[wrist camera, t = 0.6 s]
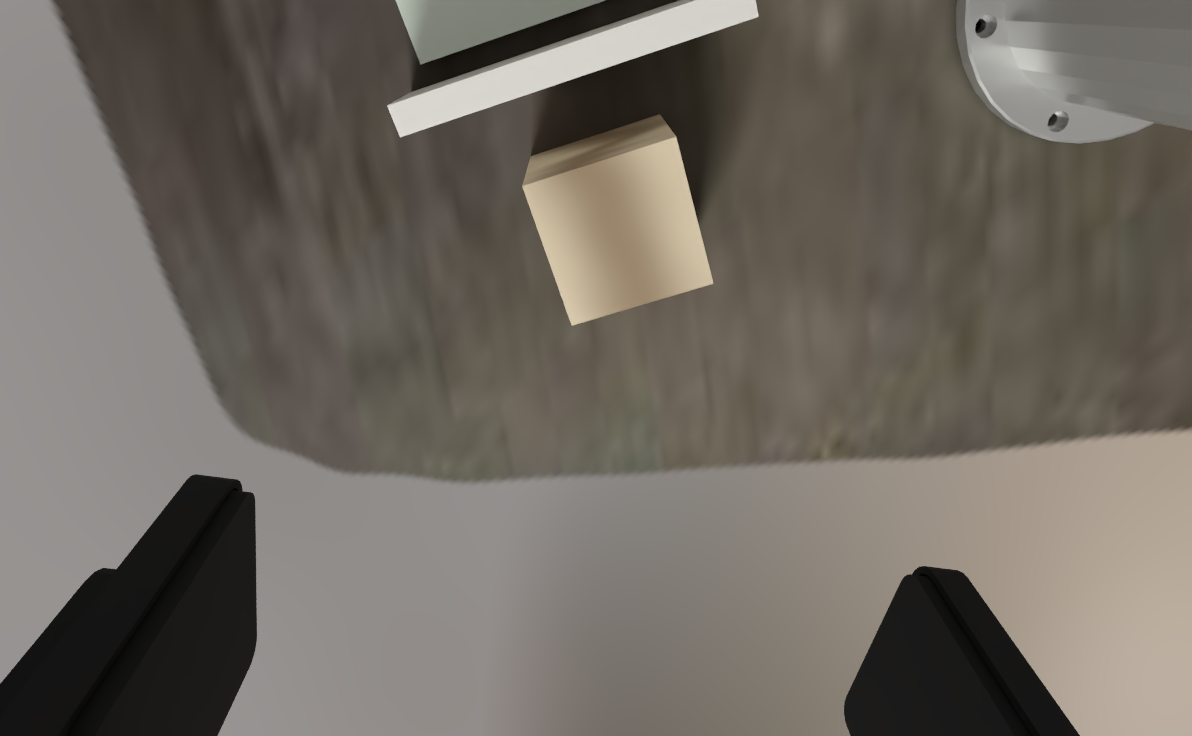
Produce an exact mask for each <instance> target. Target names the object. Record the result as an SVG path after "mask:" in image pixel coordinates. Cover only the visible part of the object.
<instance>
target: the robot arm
mask: <svg viewBox="0 0 1192 736" xmlns="http://www.w3.org/2000/svg"><path fill="white" fill-rule="evenodd" d="M978 20H980V22H981V26H980V28H979V30H978V31H976V32H975V27H976V23H977V21H978ZM956 29H957V42H958V46H959V51H960V55H961V59H962V64H963V67H964V70H965V72H966V74H967V76H968V78H969V80H970V82H971V84H972V87H973V89H974V91H975V92H976V93H977V95H978V96H979V97H980V98H981V100H982V101H983V102H984V103H985V105H986V106H987V107H988V108H989V110H990V111H991V112H993V113H994V114H995V115H997V116H998V117H999V118H1000V119H1002V120H1003V121H1004V122H1006V123H1007V124H1008V125H1010V126H1012V127H1014V128H1016V129H1019V130H1021V131H1023V132H1026V133H1028V134H1030V135H1033V136H1036V137H1039V138H1043V139H1046V140H1050V141H1056V142H1068V143H1089V142H1098V141H1106V140H1111V139H1114V138H1117V137H1121V136H1124V135H1127V134H1131V133H1134V132H1137V131H1139V130H1141V129H1143V128H1145V127H1147V126H1149V125H1152V124H1154V123H1159V124H1164V125H1168V126H1173V127H1178V128H1182V129H1187V130H1192V0H957V4H956ZM1050 117H1051V120H1050V121H1049V119H1050ZM1048 121H1049V123H1048ZM256 622H257V617H256V533H255V497H254V495H253V493H251V492H243V491H242V485H241V483H240V481H238V480H235V479H227V478H220V477H211V476H204V475H192V476H191V477H190V478H188V479H187V480H186V482H185V483H184V484H183V486H182V487H181V488H180V490H179V491H178V492H177V493H176V494H175V496H174V497H173V498H172V500H171V501H170V502H169V503H168V505H167V506H166V507H165V508H164V510H163V511H162V512H161V514H160V515H159V516H158V518H157V519H156V520H155V521H154V522H153V524H152V525H151V526H150V528H149V529H148V530H147V531H146V533H145V534H144V535H143V536H142V538H141V539H140V540H139V541H138V543H137V544H136V545H135V547H134V548H133V549H132V550H131V552H130V553H129V554H128V556H127V557H126V558H125V559H124V561H123V562H122V563H121V564H120V566H119V567H118V568H117V569H107V568H102V569H100V570H98V571H96V572H94V573H93V574H92V575H91V576H90V577H89V578H88V579H87V580H86V581H85V582H84V583H83V585H82V586H81V587H80V588H79V589H78V590H77V592H76V593H75V594H74V595H73V596H72V598H71V599H70V600H69V601H68V603H67V604H66V605H65V606H64V607H63V609H62V610H61V611H60V612H59V613H58V615H57V616H56V617H55V618H54V620H53V621H52V622H51V623H50V624H49V626H48V627H47V628H46V629H45V630H44V632H43V633H42V634H41V635H40V637H39V638H38V639H37V640H36V641H35V643H34V644H33V645H32V646H31V647H30V649H29V650H28V651H27V652H26V653H25V655H24V656H23V657H22V658H21V660H20V661H19V662H18V663H17V664H16V666H15V667H14V668H13V669H12V670H11V672H10V673H9V674H8V675H7V677H6V678H5V679H4V680H3V682H2V683H1V684H0V736H217V735H218V733H219V731H220V729H221V727H222V725H223V723H224V720H225V718H226V716H227V714H228V712H229V710H230V708H231V706H232V703H233V701H234V699H235V697H236V695H237V693H238V691H239V688H240V686H241V684H242V682H243V680H244V678H245V676H246V674H247V671H248V669H249V667H250V665H251V662H252V659H253V656H254V652H255V647H256V640H257V623H256ZM844 714H845V715H844V716H845V721H846V724H847V727H848V730H849V732H850V735H851V736H1080V735H1079V734H1078V733H1077V731H1076V730H1075V729H1074V727H1073V725H1072V724H1071V723H1070V721H1069V720H1068V718H1067V717H1066V716H1065V714H1064V713H1063V711H1062V710H1061V709H1060V707H1059V706H1058V704H1057V703H1056V701H1055V700H1054V699H1053V697H1052V696H1051V694H1050V693H1049V692H1048V690H1047V689H1046V687H1045V686H1044V685H1043V683H1042V682H1041V680H1040V679H1039V678H1038V676H1037V675H1036V673H1035V672H1034V670H1033V669H1032V668H1031V666H1030V665H1029V664H1028V663H1027V661H1026V659H1025V658H1024V656H1023V655H1022V654H1021V652H1020V651H1019V649H1018V648H1017V647H1016V645H1015V644H1014V642H1013V641H1012V640H1011V638H1010V637H1009V635H1008V634H1007V632H1006V631H1005V630H1004V628H1003V627H1002V626H1001V624H1000V623H999V621H998V620H997V618H996V617H995V616H994V614H993V613H992V611H991V610H990V609H989V607H988V606H987V604H986V603H985V602H984V600H983V599H982V597H981V596H980V595H979V593H978V592H977V590H976V589H975V587H974V586H973V585H972V583H971V582H970V581H969V579H968V578H967V577H966V576H965V575H964V573H962V572H960V571H958V570H950V569H941V568H934V567H926V566H923V567H919V568H917V569H916V570H915V571H914V572H913V574H912V575H907V576H905V577H904V578H903V579H902V581H901V583H900V585H899V587H898V589H897V591H896V593H895V596H894V598H893V600H892V602H891V604H890V606H889V608H888V610H887V613H886V615H885V617H884V619H883V621H882V623H881V625H880V627H879V629H878V631H877V634H876V636H875V638H874V640H873V642H872V644H871V646H870V648H869V650H868V653H867V654H866V656H865V659H864V661H863V663H862V665H861V667H860V669H859V671H858V673H857V676H856V678H855V680H854V682H853V684H852V686H851V688H850V690H849V693H848V695H847V697H846V700H845V705H844Z"/></svg>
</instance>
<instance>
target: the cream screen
mask: <svg viewBox="0 0 1192 736" xmlns="http://www.w3.org/2000/svg"><path fill="white" fill-rule="evenodd" d="M756 17H759V16H758V11H757V5H756V0H678V1H675V2H672V3H669V4H666V5H663V6H661V7H658V8H655V9H652V10H649V11H646V12H643V13H640V14H637V15H634V16H631V17H628V18H626V19H623V20H620V21H617V22H614V23H611V24H608V25H605V26H602V27H599V28H596V29H593V30H591V31H588V32H585V33H582V34H579V35H576V36H573V37H570V38H567V39H564V40H561V41H558V42H556V43H553V44H550V45H547V46H544V47H541V48H538V49H535V50H532V51H529V52H526V53H523V54H521V55H518V56H515V57H512V58H509V59H506V60H503V61H500V62H497V63H494V64H491V65H488V66H486V67H483V68H480V69H477V70H474V71H471V72H468V73H465V74H462V75H459V76H456V77H453V78H451V79H448V80H445V81H442V82H439V83H436V84H433V85H430V86H427V87H424V88H421V89H418V90H416V91H413V92H410V93H408V94H407V95H405V96H403V97H401V98H400V99H398V100H396V101H394V102H393V103H391V104H389V105H387V107H388V109H389V112H390V114H391V116H392V119H393V121H394V124H395V126H396V128H397V131H398V133H399V136H400V137H402V136H405V135H408V134H411V133H414V132H417V131H420V130H423V129H426V128H429V127H432V126H435V125H438V124H441V123H444V122H447V121H450V120H453V119H456V118H459V117H462V116H465V115H468V114H471V113H474V112H477V111H480V110H483V109H486V108H489V107H492V106H495V105H498V104H501V103H504V102H507V101H509V100H512V99H515V98H518V97H521V96H524V95H527V94H530V93H533V92H536V91H539V90H542V89H545V88H548V87H551V86H554V85H557V84H560V83H563V82H566V81H569V80H572V79H575V78H578V77H581V76H584V75H587V74H590V73H593V72H596V71H599V70H602V69H605V68H608V67H611V66H614V65H617V64H620V63H623V62H625V61H628V60H631V59H634V58H637V57H640V56H643V55H646V54H649V53H652V52H655V51H658V50H661V49H664V48H667V47H670V46H673V45H676V44H679V43H682V42H685V41H688V40H691V39H694V38H697V37H700V36H703V35H706V34H709V33H712V32H715V31H718V30H721V29H724V28H727V27H730V26H733V25H736V24H739V23H741V22H744V21H747V20H750V19H753V18H756Z"/></svg>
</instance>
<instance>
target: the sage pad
mask: <svg viewBox="0 0 1192 736" xmlns="http://www.w3.org/2000/svg"><path fill="white" fill-rule="evenodd" d="M602 1H605V0H396V2H397V5H398V8H399V10H400V13H401V15H402V18H403V20H404V23H405V26H406V28H407V31H408V33H409V36H410V39H411V41H412V44H413V46H414V49H415V51H416V54H417V57H418V59H419V62H420V64H424V63H427V62H429V61H432V60H435V59H438V58H441V57H444V56H447V55H450V54H453V53H455V52H458V51H461V50H464V49H467V48H470V47H473V46H476V45H478V44H481V43H484V42H487V41H490V40H493V39H496V38H499V37H502V36H504V35H507V34H510V33H513V32H516V31H519V30H522V29H525V28H527V27H530V26H533V25H536V24H539V23H542V22H545V21H548V20H551V19H553V18H556V17H559V16H562V15H565V14H568V13H571V12H574V11H577V10H579V9H582V8H585V7H588V6H591V5H594V4H597V3H600V2H602Z"/></svg>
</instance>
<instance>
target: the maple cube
mask: <svg viewBox="0 0 1192 736" xmlns="http://www.w3.org/2000/svg"><path fill="white" fill-rule="evenodd" d="M522 187H523V190H524V192H525V195H526V198H527V201H528V204H529V206H530V209H531V212H532V215H533V218H534V221H535V223H536V226H537V229H538V232H539V235H540V237H541V240H542V243H543V246H544V249H545V252H546V254H547V257H548V260H549V263H550V266H551V268H552V271H553V274H554V277H555V280H556V283H557V285H558V288H559V291H560V294H561V297H562V299H563V302H564V305H565V308H566V311H567V314H568V316H569V319H570V322H571V325H575V324H579V323H582V322H586V321H589V320H592V319H596V318H599V317H602V316H606V315H609V314H613V313H616V312H619V311H623V310H626V309H629V308H633V307H636V306H639V305H643V304H646V303H650V302H653V301H656V300H660V299H663V298H666V297H670V296H673V295H677V294H680V293H683V292H687V291H690V290H693V289H697V288H700V287H704V286H707V285H710V284H713V280H712V276H711V272H710V268H709V264H708V260H707V256H706V252H705V248H704V244H703V240H702V237H701V233H700V229H699V225H698V221H697V217H696V213H695V209H694V205H693V201H692V197H691V193H690V189H689V185H688V181H687V177H686V173H685V169H684V165H683V161H682V157H681V154H680V150H679V146H678V142H677V138H676V136H675V134H674V133H673V132H672V130H671V129H670V127H669V126H668V125H667V123H666V122H665V121H664V119H663V118H662V116H661V115H660V114H659V115H656V116H653V117H650V118H647V119H643V120H640V121H637V122H634V123H631V124H628V125H625V126H622V127H619V128H616V129H613V130H610V131H607V132H604V133H600V134H597V135H594V136H591V137H588V138H585V139H582V140H579V141H576V142H573V143H570V144H567V145H564V146H561V147H558V148H554V149H551V150H548V151H545V152H542V153H539V154H536V155H533V156H531V157H530V161H529V164H528V168H527V171H526V175H525V178H524V182H523V185H522Z"/></svg>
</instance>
